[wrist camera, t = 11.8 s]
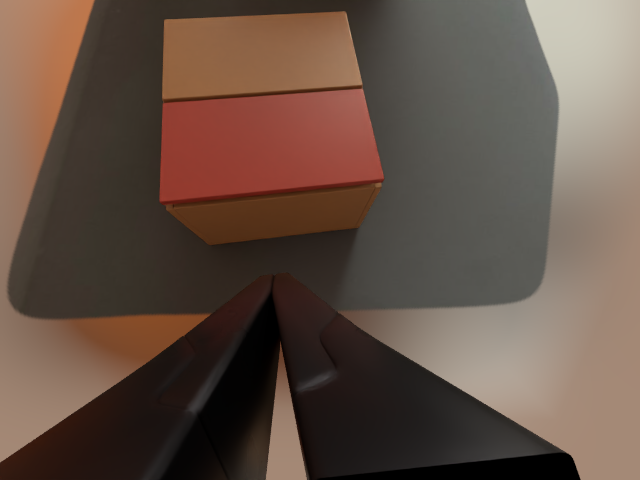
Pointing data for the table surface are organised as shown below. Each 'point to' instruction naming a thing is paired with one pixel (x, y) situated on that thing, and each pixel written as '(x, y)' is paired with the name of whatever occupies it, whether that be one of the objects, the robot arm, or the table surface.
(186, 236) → the table surface
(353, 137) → the flap
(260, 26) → the carton
